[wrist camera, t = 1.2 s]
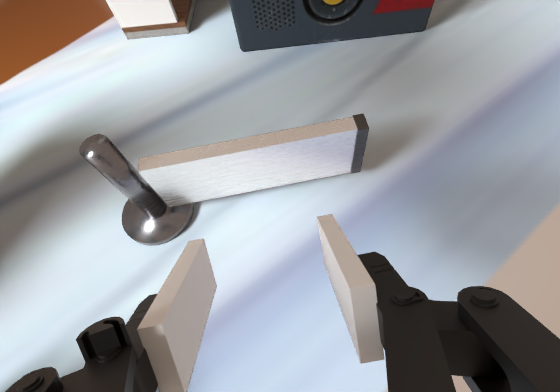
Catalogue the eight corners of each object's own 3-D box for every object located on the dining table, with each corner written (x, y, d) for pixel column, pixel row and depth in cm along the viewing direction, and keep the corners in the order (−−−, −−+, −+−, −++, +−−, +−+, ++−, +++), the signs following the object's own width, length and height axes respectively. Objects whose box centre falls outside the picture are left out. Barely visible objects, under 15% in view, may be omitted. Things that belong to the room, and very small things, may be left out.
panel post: (112, 232, 36) (24, 173, 25) (149, 175, 40) (86, 101, 29) (171, 254, 34) (104, 200, 23) (205, 192, 38) (160, 119, 27)
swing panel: (169, 208, 35) (137, 173, 29) (169, 194, 36) (138, 156, 29) (360, 171, 34) (369, 128, 28) (355, 158, 35) (363, 113, 29)
